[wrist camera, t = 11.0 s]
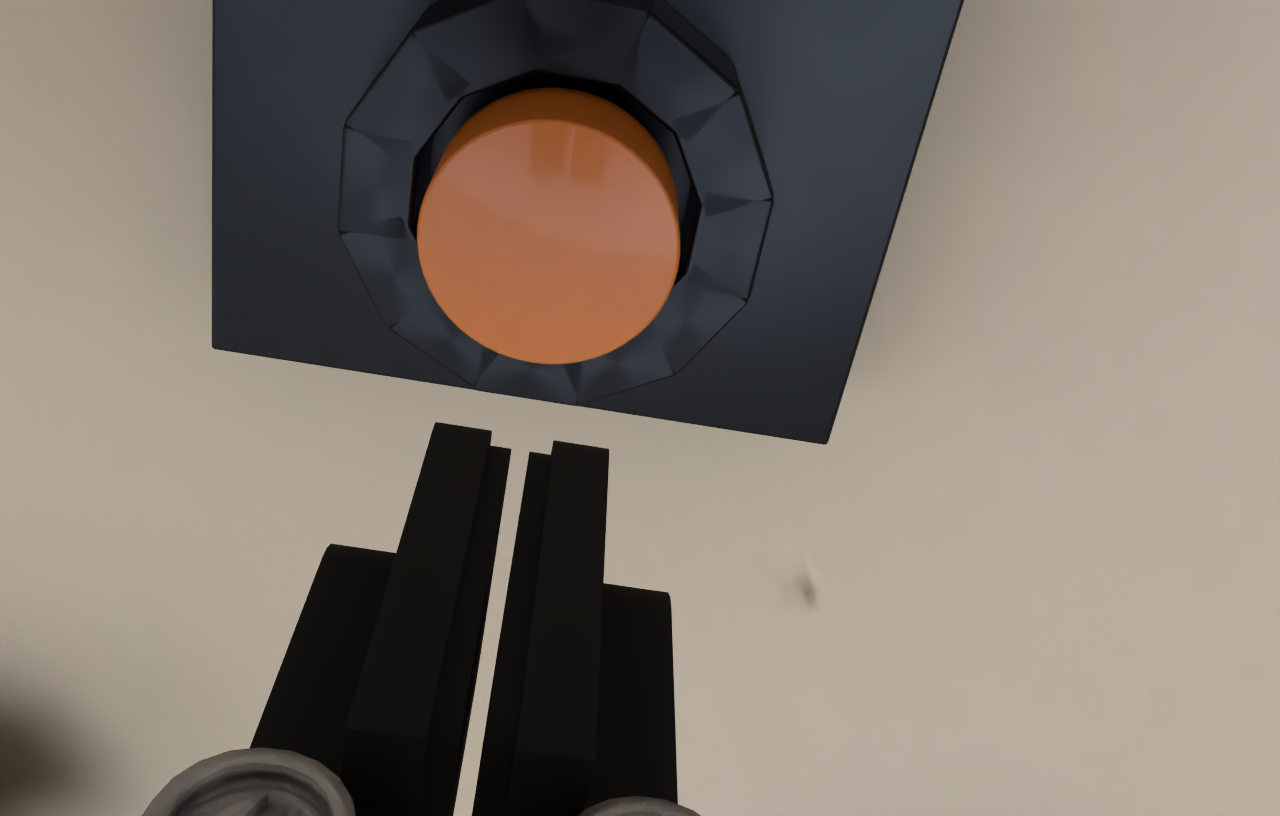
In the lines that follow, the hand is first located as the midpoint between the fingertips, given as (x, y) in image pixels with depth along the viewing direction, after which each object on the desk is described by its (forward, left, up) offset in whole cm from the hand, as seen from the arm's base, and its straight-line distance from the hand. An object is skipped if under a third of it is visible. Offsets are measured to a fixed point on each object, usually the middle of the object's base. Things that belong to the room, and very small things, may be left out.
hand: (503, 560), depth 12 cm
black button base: (0, 0, -13) cm, 13 cm away
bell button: (0, 0, -9) cm, 9 cm away
